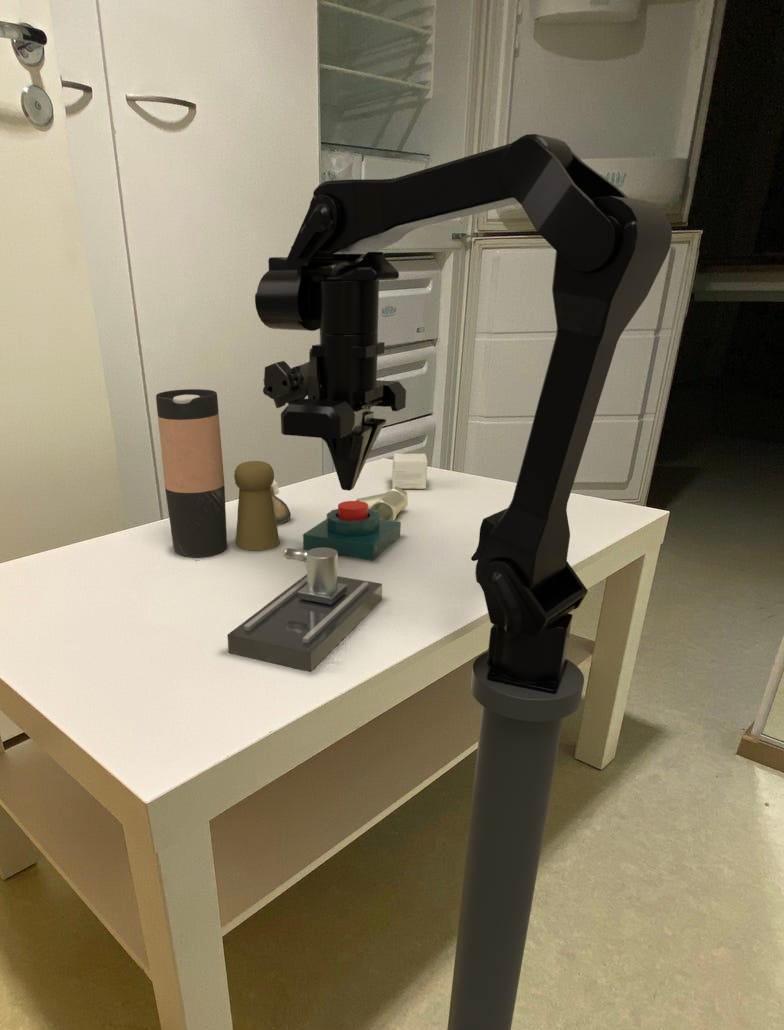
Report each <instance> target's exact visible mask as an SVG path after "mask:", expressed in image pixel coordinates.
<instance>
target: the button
mask: <svg viewBox="0 0 784 1030" xmlns="http://www.w3.org/2000/svg"><path fill="white" fill-rule="evenodd" d="M337 509H338V518H340V519H343V520H362V519H367V518H368V504H367V503H365V502H361V501H356V500H346V501H341V502H340V503H338V504H337Z"/></svg>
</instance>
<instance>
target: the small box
mask: <svg viewBox="0 0 784 1030" xmlns="http://www.w3.org/2000/svg"><path fill="white" fill-rule="evenodd" d="M391 471H392V474H391V475H392V476H391V487H392V488H394V487H396V486H397V487H399V488H401V489H402V490H404V489H406V490H408V489H412V490H413V489H416V490H417V489H418V490H419V489H420V490H426V489H427V479H428V458H427V454H426V453H393V456H392V470H391ZM392 488H391V489H392Z"/></svg>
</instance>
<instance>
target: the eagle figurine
mask: <svg viewBox="0 0 784 1030" xmlns="http://www.w3.org/2000/svg"><path fill="white" fill-rule="evenodd" d="M234 483H235V485H236V486H237V484H236V482H235V481H234ZM278 485H279V484H278V482H277V480H276V479H274V480H273V483H272V485H271V487H270V489H271V495H272V500H273V506H274V512H275V518H276V524H277V526H278V525H283V524H285V523H286V522H289V520H291V516H292V514H291V510H290V508H289V506H288V505H287V504H286V503H285V501H284V500H282V499H281V498H279V497H278V496H276V495H279V494H280V489H279V486H278ZM237 489H239V487H238V486H237Z"/></svg>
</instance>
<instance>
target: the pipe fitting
mask: <svg viewBox="0 0 784 1030" xmlns="http://www.w3.org/2000/svg"><path fill="white" fill-rule="evenodd" d="M355 501H361V502H365V503H367V504H368V509H371V510H374V511H376V512H378V514H379V516H380V519H382V520H390V521H396V519H397V515H398V514H399V513H400V512H401V511H402V510H405V509H406V508H407V507H408V506H409V495H408V492H407V491H405V490H404V489H402V488H399V487H397V486H396V487H394V488H390V489H389V490H387V491H385V492H383V493H380V494H375V495H369V496H364V497H359V498H356V500H355Z"/></svg>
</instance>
